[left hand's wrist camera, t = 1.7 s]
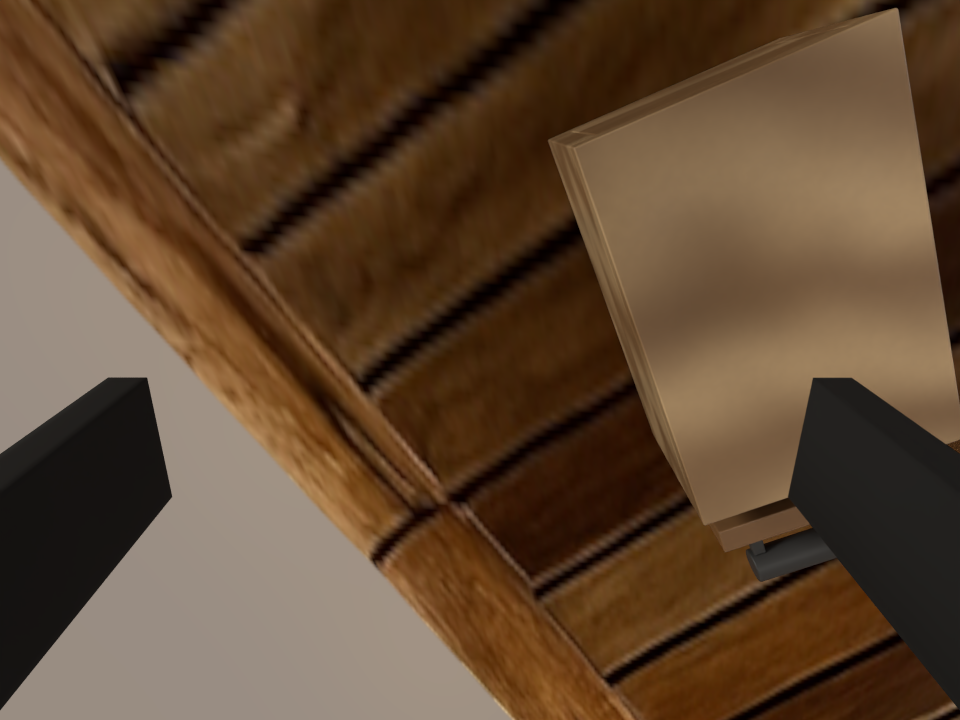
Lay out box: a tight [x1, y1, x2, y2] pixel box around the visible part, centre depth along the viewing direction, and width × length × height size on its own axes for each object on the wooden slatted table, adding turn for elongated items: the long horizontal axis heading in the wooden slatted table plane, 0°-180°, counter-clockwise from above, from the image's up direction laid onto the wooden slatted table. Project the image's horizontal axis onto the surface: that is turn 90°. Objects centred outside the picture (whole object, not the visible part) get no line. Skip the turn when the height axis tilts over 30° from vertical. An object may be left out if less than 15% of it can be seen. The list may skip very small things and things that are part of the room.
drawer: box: [709, 498, 837, 582], centre depth 29 cm, size 20×10×6 cm, turn 23°
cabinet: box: [548, 8, 960, 525], centre depth 27 cm, size 16×11×8 cm, turn 23°
